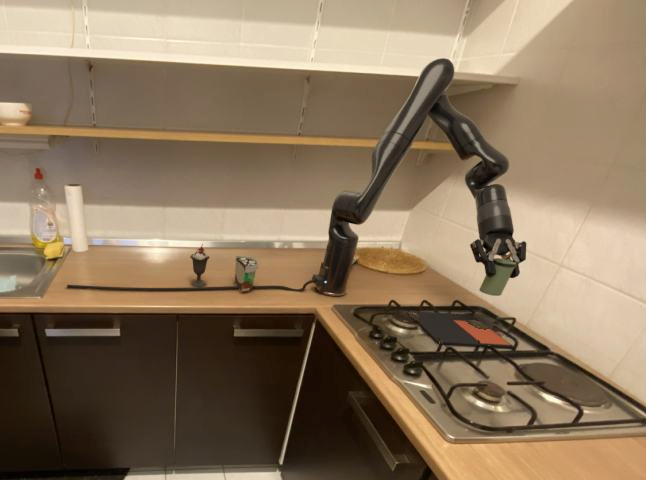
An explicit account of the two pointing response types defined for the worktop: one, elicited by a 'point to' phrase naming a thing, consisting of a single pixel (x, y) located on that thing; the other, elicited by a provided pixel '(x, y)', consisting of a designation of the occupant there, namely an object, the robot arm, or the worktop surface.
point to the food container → (245, 273)
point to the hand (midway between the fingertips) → (503, 276)
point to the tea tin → (498, 277)
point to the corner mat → (459, 330)
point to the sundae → (199, 265)
